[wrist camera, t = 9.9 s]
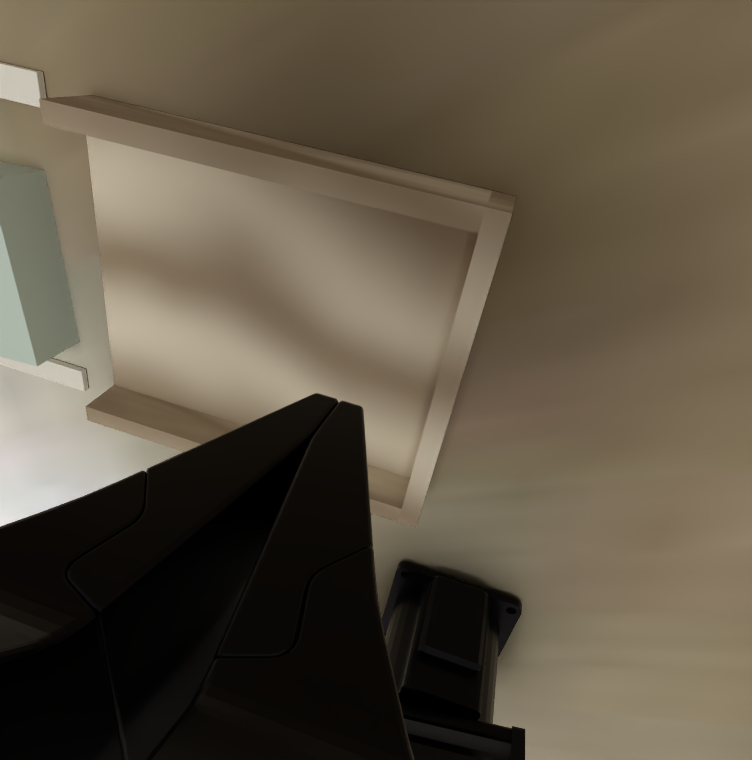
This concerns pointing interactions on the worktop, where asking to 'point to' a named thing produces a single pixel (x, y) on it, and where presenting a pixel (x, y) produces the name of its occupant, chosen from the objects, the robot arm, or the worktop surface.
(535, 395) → the worktop surface
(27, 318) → the pale green block
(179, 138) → the shallow beige tray
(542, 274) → the worktop surface
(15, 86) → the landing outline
